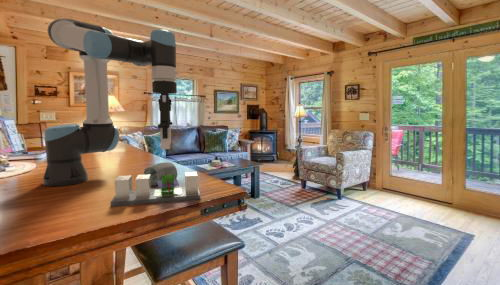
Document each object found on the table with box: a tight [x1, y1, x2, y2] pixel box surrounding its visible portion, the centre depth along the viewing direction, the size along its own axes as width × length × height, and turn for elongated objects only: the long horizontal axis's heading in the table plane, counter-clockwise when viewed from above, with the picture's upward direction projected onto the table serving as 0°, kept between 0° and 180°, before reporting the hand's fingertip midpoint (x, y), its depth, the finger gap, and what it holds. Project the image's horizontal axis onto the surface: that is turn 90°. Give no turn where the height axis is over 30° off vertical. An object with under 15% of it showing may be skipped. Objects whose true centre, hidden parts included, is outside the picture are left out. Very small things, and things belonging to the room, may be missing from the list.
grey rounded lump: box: [143, 161, 178, 187], centre depth 108 cm, size 14×10×10 cm
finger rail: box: [110, 171, 201, 208], centre depth 89 cm, size 11×27×8 cm, turn 105°
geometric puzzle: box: [157, 173, 180, 194], centre depth 90 cm, size 7×7×8 cm
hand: (166, 146), depth 89 cm, fingers open, 13 cm apart
